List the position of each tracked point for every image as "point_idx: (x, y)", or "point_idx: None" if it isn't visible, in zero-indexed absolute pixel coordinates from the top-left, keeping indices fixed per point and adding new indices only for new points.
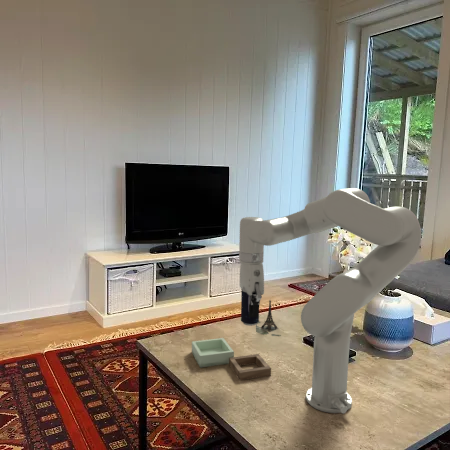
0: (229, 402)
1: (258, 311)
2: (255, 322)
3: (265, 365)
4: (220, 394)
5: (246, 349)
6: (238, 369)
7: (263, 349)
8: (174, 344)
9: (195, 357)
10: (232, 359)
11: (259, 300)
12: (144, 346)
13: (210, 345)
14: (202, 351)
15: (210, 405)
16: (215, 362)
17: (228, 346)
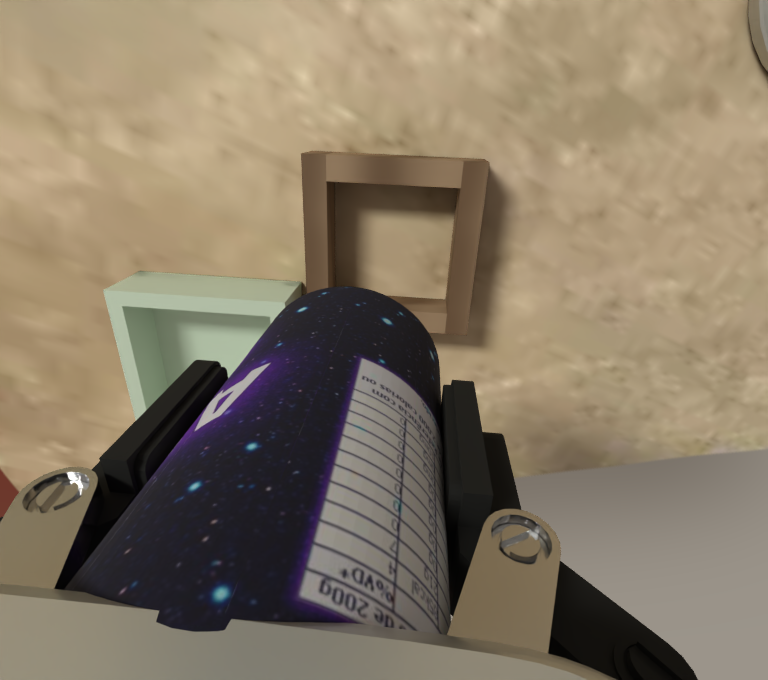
0: (594, 413)
1: (477, 419)
2: (436, 358)
3: (448, 179)
4: (528, 421)
5: (162, 154)
6: (433, 328)
7: (173, 44)
8: (86, 441)
9: None
10: None
11: (684, 676)
12: None
13: (149, 349)
14: None
15: (575, 469)
16: None
17: (218, 305)
